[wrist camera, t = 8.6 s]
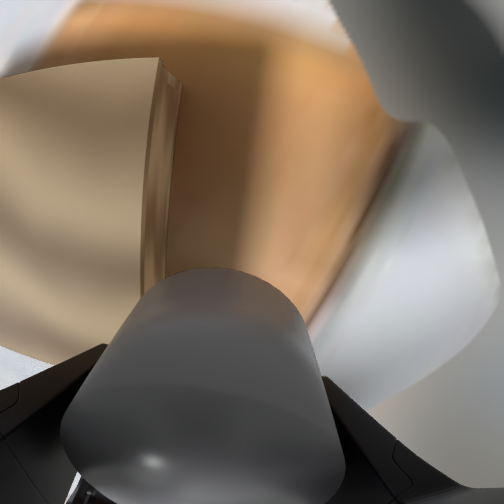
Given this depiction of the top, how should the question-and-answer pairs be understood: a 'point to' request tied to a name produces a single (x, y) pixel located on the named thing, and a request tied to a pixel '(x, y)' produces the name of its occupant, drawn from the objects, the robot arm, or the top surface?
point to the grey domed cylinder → (207, 400)
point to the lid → (73, 203)
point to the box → (160, 177)
